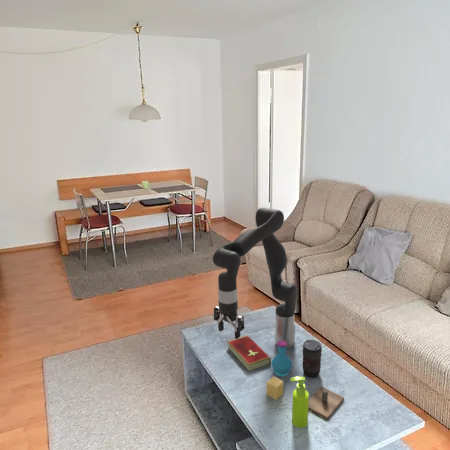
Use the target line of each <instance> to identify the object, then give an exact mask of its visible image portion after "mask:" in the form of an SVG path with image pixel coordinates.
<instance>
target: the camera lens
mask: <svg viewBox="0 0 450 450" xmlns="http://www.w3.org/2000/svg"><path fill="white" fill-rule="evenodd" d="M322 350H323V347H322V344H321V343H320V341H318V340H315V339H308V340H305V341H304V342H303V344H302V372H303V374H304V377H305V376H306V377H307V378H309V379H316V378H317V377H319V375H320V372H321V368H322V366H321V363H322V361H321V360H322Z"/></svg>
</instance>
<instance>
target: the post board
mask: <svg viewBox="0 0 450 450" xmlns="http://www.w3.org/2000/svg"><path fill="white" fill-rule="evenodd" d="M344 400H345V396H343V395H340V394H338V393H336V392H334V391H332V390H330V389H328V388H326V387H323V386H321V387H320V388H319V389H318V390H317V391H316V392H315V393H314V394H313V396H311V397H310V399H309V404H308V411H310V412H311V413H314V414H315V415H318V416H319V417H322V418H323V419H325V420H329V418H330V417H331V416H332V415H333V413H335V411H336V410H337V409H338V407H339V406H340V405H341V404H342V402H343V401H344Z"/></svg>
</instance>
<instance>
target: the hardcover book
mask: <svg viewBox="0 0 450 450" xmlns="http://www.w3.org/2000/svg"><path fill="white" fill-rule="evenodd" d="M226 343H228V346H227V347H228V349H229V350H230V351H231V352H232V354H233V355H234V356H235V357H236V358H237V359H238V361H239V362H240V363H242V365H243V366H244V367H245V368H246V370H248V371H252V370H256V369H258V368H261V367H264V366H265V365H268V364H269V365H270V364H271V365H272V357H271V356H270V355H269V354H268V353H266V351H264V350H263V348H261V347H260V346H259V345H258V344H257V343H256V342H255V341H254V340H253V339H252V338H251V337H250V336H249V335H247V334H246V335H244V336H240V337H239V338H238V339H235V338H234V339H232V340H228V341H226Z"/></svg>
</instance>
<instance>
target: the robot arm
mask: <svg viewBox="0 0 450 450" xmlns="http://www.w3.org/2000/svg"><path fill="white" fill-rule="evenodd" d="M284 221H285V215H284V213H283V211H282V210H279V209H275V208H271V207H259V208H258V209H257V211H256V213H255V224H256V227H254V228H251V229H249V230H247V231H244V232H242V233H241V234H240V235H238V236H237V238H235V239H234V240H233V241H231V242H229V243H227V244H224V245H223V246H220V247H219V248H217V249H216V250H215V252H214V254H213V256H212V262H213V265H215V266H216V267H219V268H222V269H225V270H226V271H222V272H221V273H219V275H218V276H217V277H218V278H217V279H218V280H217V283H218V284H217V285H218V293H217V297H218V300H217V301H218V305H217V306H215V307H213V321H216V323H217V325H218V326H217V328H218V331H219V332H223V331H224V329H225V328H224V326H225V324H224V322H227V323H229V324H230V326H231V327H232V328H233V329H234V339H238V338H240V337H241V331H244V330H245V318H244V315H243V314H242V315H238V309H239V307H238V306H239V304H238V296H239V295H238V288H237V285H238V284H237V276H238V273H239V268H240V265H241V257H244V256H246V255H247V253H249V252H250V251H251V250H252V249H253V248H254V247H255V246H256V245H257V244H259V243H262V245H263V251H264V254H265V255H264V256H265V259H266V264H267V267H268V271H269V272H268V273H269V279H270V287H271V294H272V296H273V298H274V299H276V300H278V301H281V302H284V303H280V304H278V305H277V306H276V307H275V327H274V328H275V329H274V331H275V332H274V333H275V336H274V337H275V339H274V340H275V342H274V344H275V346H277V347H278V345H277V342H278V341H281V340H283V341H285V342H287V346H286V349H291V348H293V347H294V345H295V337H296V334H295V333H296V325H295V318H296V317H295V316H296V315H295V312H296V306H297V294H298V290H297V289H298V288H297V286H296V284H294V283H290V282H286V281H284V280H283V278H282V273H283V272H284V270H285V268H286V267H287V264H288V258H287V253H286V249H285V247H284V245H283V244H282V243H281V241H280V240H279V239H278V238H277V236H276V235H275V234H274V233H277V231H279V230H280V229H281V228H282V226H283V225H284Z"/></svg>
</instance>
